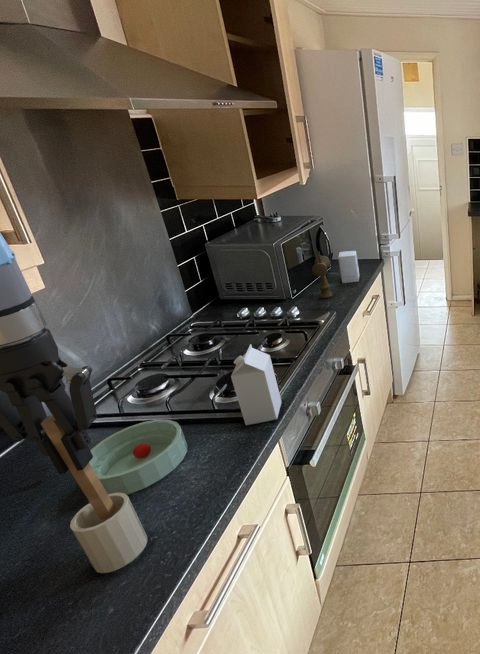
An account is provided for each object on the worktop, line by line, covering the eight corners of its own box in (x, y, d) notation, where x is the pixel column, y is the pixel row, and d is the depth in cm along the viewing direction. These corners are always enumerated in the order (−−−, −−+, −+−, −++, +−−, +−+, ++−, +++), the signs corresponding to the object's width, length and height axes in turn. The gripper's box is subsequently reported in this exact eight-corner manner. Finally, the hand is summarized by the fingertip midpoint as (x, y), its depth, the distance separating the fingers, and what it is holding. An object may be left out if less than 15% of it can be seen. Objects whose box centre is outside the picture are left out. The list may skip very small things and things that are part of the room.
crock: (85, 581, 70) (59, 537, 66) (109, 541, 76) (86, 498, 72) (137, 568, 72) (114, 524, 68) (156, 530, 78) (136, 488, 74)
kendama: (335, 291, 178) (328, 246, 170) (333, 300, 169) (325, 254, 162) (320, 292, 176) (312, 248, 169) (317, 302, 168) (308, 255, 160)
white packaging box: (359, 281, 187) (355, 255, 182) (341, 283, 185) (337, 257, 181) (360, 275, 194) (356, 250, 189) (343, 277, 192) (339, 251, 187)
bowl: (71, 510, 82) (59, 488, 80) (116, 448, 97) (107, 428, 95) (170, 488, 87) (161, 467, 85) (199, 432, 102) (192, 413, 99)
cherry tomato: (139, 441, 94) (154, 441, 95) (137, 454, 94) (152, 455, 95) (131, 446, 92) (147, 446, 92) (128, 460, 91) (144, 460, 92)
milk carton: (282, 402, 112) (266, 341, 105) (277, 420, 106) (260, 356, 99) (252, 407, 110) (234, 346, 103) (245, 426, 104) (226, 362, 96)
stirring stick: (100, 519, 71) (40, 423, 61) (105, 511, 72) (47, 416, 63) (111, 517, 71) (53, 421, 62) (116, 508, 73) (60, 413, 63)
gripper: (-90, 362, 52) (-2, 497, 61) (57, 343, 56) (119, 472, 65) (-38, 332, 58) (35, 458, 67) (90, 317, 63) (143, 438, 71)
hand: (76, 465), depth 66 cm, fingers closed on stirring stick, 2 cm apart
